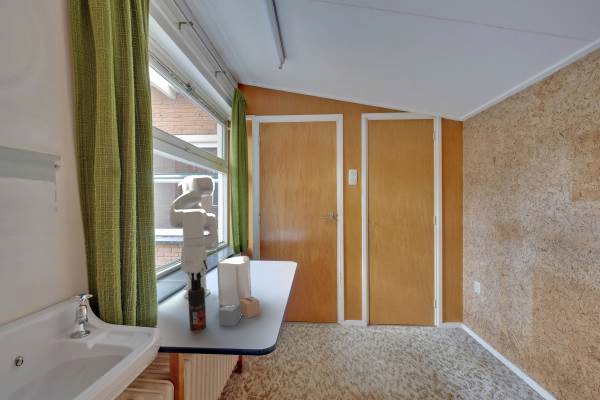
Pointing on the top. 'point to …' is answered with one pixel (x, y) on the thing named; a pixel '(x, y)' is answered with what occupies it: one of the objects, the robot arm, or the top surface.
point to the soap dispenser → (233, 280)
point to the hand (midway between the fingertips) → (196, 289)
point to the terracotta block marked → (249, 307)
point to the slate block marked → (229, 314)
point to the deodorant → (197, 309)
